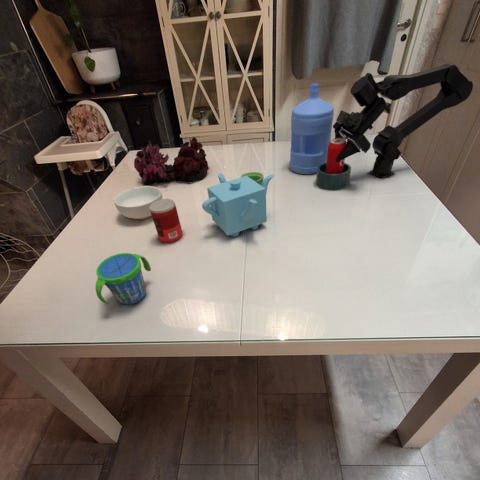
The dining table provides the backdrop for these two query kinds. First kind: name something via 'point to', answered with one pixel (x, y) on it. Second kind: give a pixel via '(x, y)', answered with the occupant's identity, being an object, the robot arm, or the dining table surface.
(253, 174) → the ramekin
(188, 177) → the flower arrangement
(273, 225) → the dining table surface
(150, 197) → the cereal bowl
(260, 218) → the teakettle
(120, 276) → the snack cup
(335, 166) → the beverage can
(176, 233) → the canned food
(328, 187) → the pot
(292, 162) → the water jug
